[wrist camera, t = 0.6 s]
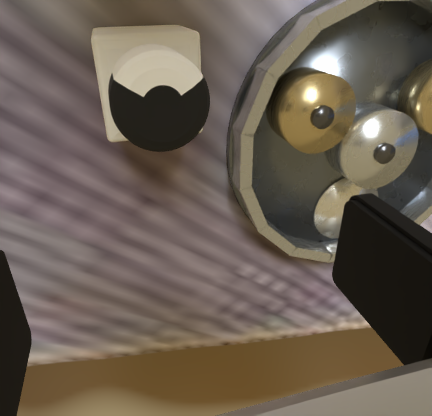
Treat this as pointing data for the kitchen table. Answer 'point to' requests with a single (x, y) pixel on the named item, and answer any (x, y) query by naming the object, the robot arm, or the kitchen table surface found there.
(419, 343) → the robot arm
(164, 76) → the medicine bottle
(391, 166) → the carrier
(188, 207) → the kitchen table surface
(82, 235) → the kitchen table surface
